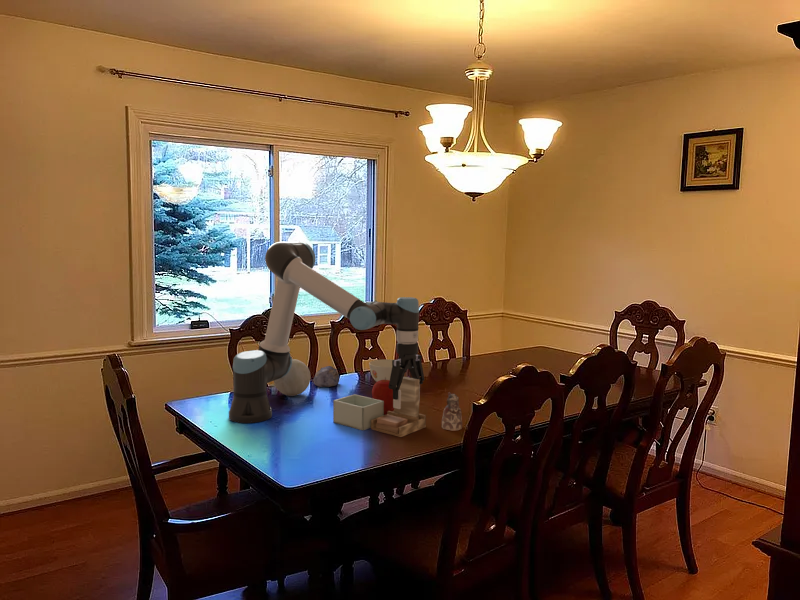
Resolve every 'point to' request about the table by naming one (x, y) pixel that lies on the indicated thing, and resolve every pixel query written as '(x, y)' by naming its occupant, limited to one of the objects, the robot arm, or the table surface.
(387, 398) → the red ovoid
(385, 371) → the bowl
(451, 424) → the figurine
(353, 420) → the box
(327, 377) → the rock
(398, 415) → the oak rack
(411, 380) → the birch sheet
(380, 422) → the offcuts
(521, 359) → the table surface
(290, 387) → the decorative sphere
